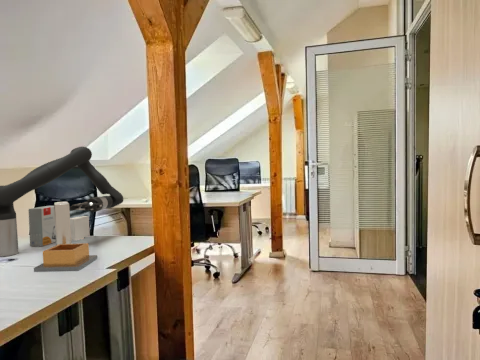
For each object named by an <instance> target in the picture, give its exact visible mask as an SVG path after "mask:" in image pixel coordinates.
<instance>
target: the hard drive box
mask: <svg viewBox="0 0 480 360" xmlns="http://www.w3.org/2000/svg"><path fill="white" fill-rule="evenodd" d="M28 227H29V228H28V229H29V247H45V246H47V245H50V244H54V243H56V233H55V216H54V205H46V206H45V205H44V206H38V207H32V208H28Z"/></svg>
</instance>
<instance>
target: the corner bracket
mask: <svg viewBox="0 0 480 360" xmlns="http://www.w3.org/2000/svg"><path fill="white" fill-rule="evenodd" d="M70 227H71V241H75V240H76V241H81V240H84V239H85V238H90V236H91V235H90V216H88V215H83V216H82V215H81V216H76V217H70ZM84 237H85V238H84ZM80 239H81V240H80Z"/></svg>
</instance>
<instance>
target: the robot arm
mask: <svg viewBox="0 0 480 360" xmlns="http://www.w3.org/2000/svg"><path fill="white" fill-rule="evenodd" d="M92 157H93V153H92V150H91V149H90V148H89V147H87V146H78V147H77V146H76V147H75V148H73V149H72V150H71V151H70V153H68V154H66V155H64V156H63V157H62V156H61V157H60V158H56V159H54V160H51V161H48V162H45V163H43V164H42V165H40V166H38V167H36V168H34V169H32V170H30V171H29V172H28V173H27V174H26V175H25V176H23V177H22V178H20V179H18V180H16V181H14V182H12V183H9V184H6V185H0V257H8V256H14V255H18V254H19V241H18V240H19V237H18V223H17V213H16V211H15V207H14V203H15V202H16V201H17V200H19V199H20V198H22V197H23V196H25V195H26V194H28V193H30V192H32V191H34V190H36V189H38V188H41V187H42V186H45V185H47V184H49V183H51V182H52V181H55V180H56V179H58V178H60V177H61V176H62V175H64V174H66V173H67V172H69V171H70V170H73V169H74V168H76V167H77V168H79V169H80V170H81V171H82V172H83V173H84V174H85V176H87V177H88V178H89V179H90V181H91V182H92V184H93V185H94V186H95V187H96V189H97V190H98V191H99V193H100V194H101V196H95V197H90V198H89V199H87V200H86V201H84V202H82V203H81V202H80V203H75V204H71V206H70V205H69V209H70V212H71V211H76V210H77V211H78V210H79V211H89V212H90V213H95V212H100V211H103V210H105V209H106V210H107V209H112V208H114V207H117V206H119V205H121V204H123V202H124V196H123V194H122V193H121V192H120V191H118V190H117V189H116V188H114V186H112V185H111V184H110V182H109V181H108V180H107V178H106V177H105V176H104V175H103V174H102V173H101V172H100V171H99V170H98V169H96V168H95V166H94V165H92V163H91V162H90V160H91V158H92Z"/></svg>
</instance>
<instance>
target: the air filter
mask: <svg viewBox="0 0 480 360" xmlns="http://www.w3.org/2000/svg"><path fill="white" fill-rule="evenodd" d="M53 206H54V216H55V233H56V242H55V246H56V245H58V244H72V240H71V227H70V218H71V211H70V203H69V202H68V201H57V202H54V204H53Z"/></svg>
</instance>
